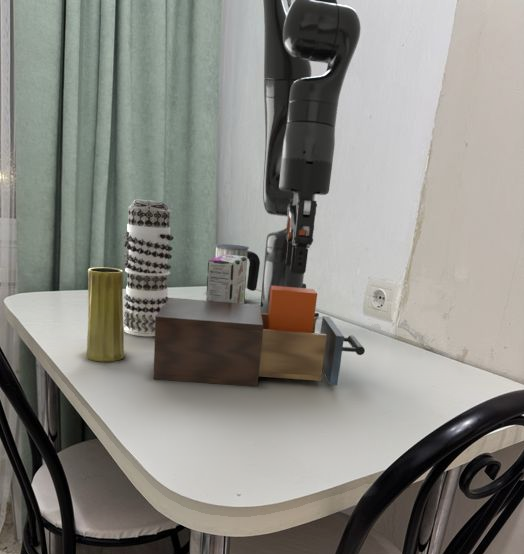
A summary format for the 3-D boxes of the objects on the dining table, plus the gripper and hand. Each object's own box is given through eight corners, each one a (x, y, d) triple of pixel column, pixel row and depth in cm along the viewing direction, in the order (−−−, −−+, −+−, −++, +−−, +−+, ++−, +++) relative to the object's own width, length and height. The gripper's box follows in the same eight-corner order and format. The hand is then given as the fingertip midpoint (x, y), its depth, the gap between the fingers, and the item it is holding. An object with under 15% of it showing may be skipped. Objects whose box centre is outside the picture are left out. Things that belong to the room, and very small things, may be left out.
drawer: (347, 360, 90) (353, 318, 88) (364, 387, 78) (372, 338, 75) (242, 352, 89) (246, 309, 87) (242, 378, 76) (247, 328, 74)
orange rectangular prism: (305, 359, 85) (313, 289, 82) (308, 367, 81) (317, 293, 78) (264, 356, 85) (270, 285, 81) (265, 363, 81) (272, 289, 77)
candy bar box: (218, 335, 103) (224, 253, 98) (242, 338, 102) (249, 256, 97) (201, 349, 92) (207, 258, 88) (228, 353, 91) (234, 262, 87)
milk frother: (231, 305, 132) (236, 248, 128) (185, 295, 140) (188, 241, 135) (261, 300, 143) (266, 247, 139) (217, 290, 151) (220, 240, 147)
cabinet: (255, 357, 90) (260, 304, 87) (257, 386, 76) (263, 325, 74) (167, 351, 89) (169, 297, 86) (153, 379, 75) (155, 316, 73)
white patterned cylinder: (158, 323, 107) (163, 201, 100) (177, 335, 100) (183, 203, 93) (116, 326, 102) (117, 197, 95) (132, 338, 95) (134, 199, 88)
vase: (131, 355, 85) (133, 270, 81) (110, 364, 80) (110, 274, 76) (101, 348, 87) (101, 265, 83) (77, 357, 81) (76, 269, 77)
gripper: (278, 160, 81) (268, 262, 85) (285, 151, 67) (273, 273, 72) (324, 165, 81) (312, 266, 86) (341, 157, 68) (325, 278, 72)
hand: (294, 269), depth 79 cm, fingers open, 8 cm apart
